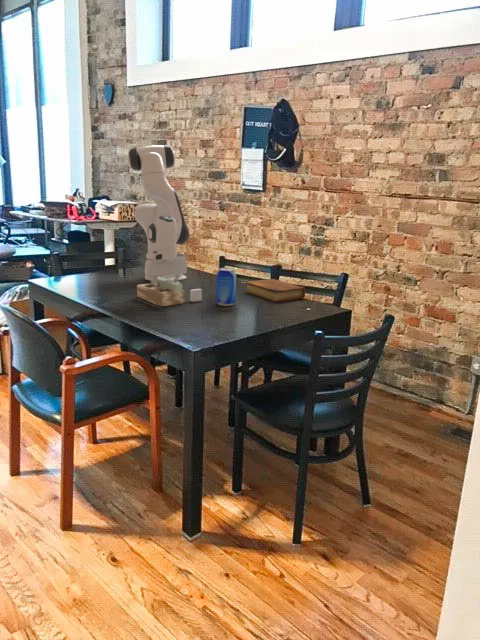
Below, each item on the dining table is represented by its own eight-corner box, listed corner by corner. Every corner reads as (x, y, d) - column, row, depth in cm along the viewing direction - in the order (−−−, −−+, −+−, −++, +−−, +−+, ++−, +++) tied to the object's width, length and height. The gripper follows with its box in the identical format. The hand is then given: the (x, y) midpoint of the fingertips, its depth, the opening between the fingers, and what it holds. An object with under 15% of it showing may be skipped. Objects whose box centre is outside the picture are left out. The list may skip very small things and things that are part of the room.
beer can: (237, 303, 235) (239, 268, 231) (231, 308, 228) (232, 271, 223) (220, 301, 238) (221, 266, 234) (213, 305, 230) (214, 269, 226)
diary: (304, 299, 254) (305, 287, 252) (275, 303, 243) (276, 291, 241) (273, 289, 271) (274, 278, 270) (244, 292, 260) (245, 281, 258)
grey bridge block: (157, 293, 244) (157, 276, 242) (182, 302, 230) (182, 284, 227) (151, 293, 242) (151, 276, 240) (175, 303, 227) (175, 284, 225)
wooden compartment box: (160, 295, 245) (160, 282, 244) (184, 304, 231) (184, 290, 229) (137, 297, 238) (137, 284, 236) (160, 307, 223) (161, 293, 221)
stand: (177, 292, 251) (177, 281, 249) (201, 301, 237) (202, 289, 235) (168, 294, 248) (168, 282, 246) (192, 302, 234) (192, 290, 232)
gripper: (182, 251, 239) (181, 281, 243) (142, 254, 226) (142, 286, 230) (190, 253, 235) (189, 284, 238) (150, 256, 222) (150, 288, 225)
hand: (166, 285), depth 234 cm, fingers open, 8 cm apart
